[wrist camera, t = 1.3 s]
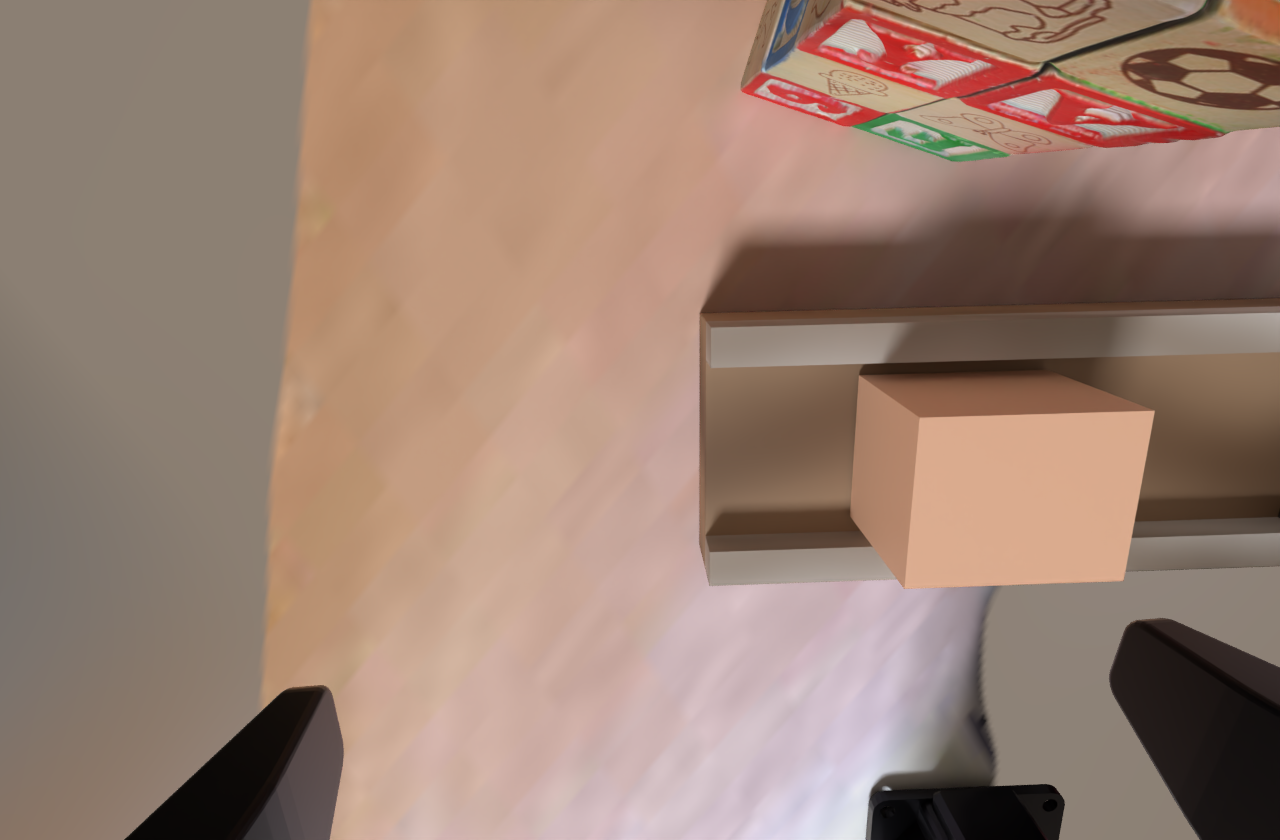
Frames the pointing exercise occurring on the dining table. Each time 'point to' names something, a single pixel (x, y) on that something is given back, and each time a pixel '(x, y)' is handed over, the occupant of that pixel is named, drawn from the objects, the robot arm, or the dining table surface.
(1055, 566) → the block
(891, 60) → the stack of blocks
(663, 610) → the dining table surface
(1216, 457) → the track
